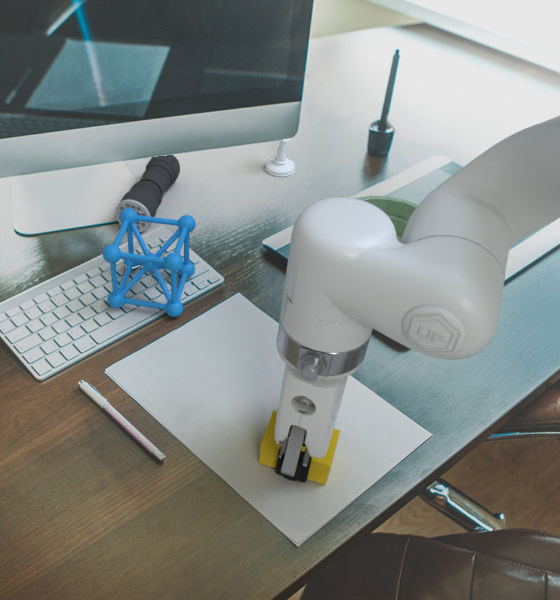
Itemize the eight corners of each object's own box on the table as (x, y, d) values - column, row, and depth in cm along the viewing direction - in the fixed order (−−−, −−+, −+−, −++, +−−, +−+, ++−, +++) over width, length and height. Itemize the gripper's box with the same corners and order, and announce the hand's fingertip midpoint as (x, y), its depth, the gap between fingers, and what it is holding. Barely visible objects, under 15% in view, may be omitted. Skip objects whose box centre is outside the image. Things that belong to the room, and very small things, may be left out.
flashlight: (151, 174, 107) (150, 145, 104) (182, 180, 106) (183, 150, 102) (116, 228, 97) (113, 198, 93) (150, 235, 95) (149, 205, 92)
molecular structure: (181, 322, 82) (181, 262, 76) (105, 310, 84) (99, 251, 77) (196, 271, 89) (197, 212, 83) (126, 261, 91) (121, 203, 84)
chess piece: (279, 157, 110) (285, 102, 103) (301, 169, 107) (309, 113, 100) (258, 167, 108) (263, 112, 101) (280, 180, 105) (287, 124, 98)
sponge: (334, 449, 68) (340, 430, 66) (325, 485, 65) (331, 466, 63) (270, 429, 70) (273, 409, 68) (258, 462, 67) (261, 443, 65)
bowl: (443, 240, 93) (454, 209, 89) (431, 312, 83) (443, 280, 79) (334, 217, 98) (340, 186, 94) (310, 282, 87) (316, 250, 84)
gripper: (347, 425, 48) (314, 540, 61) (383, 283, 60) (349, 405, 72) (250, 396, 51) (237, 512, 63) (302, 264, 62) (283, 385, 74)
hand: (297, 454), depth 68 cm, fingers closed on sponge, 4 cm apart
